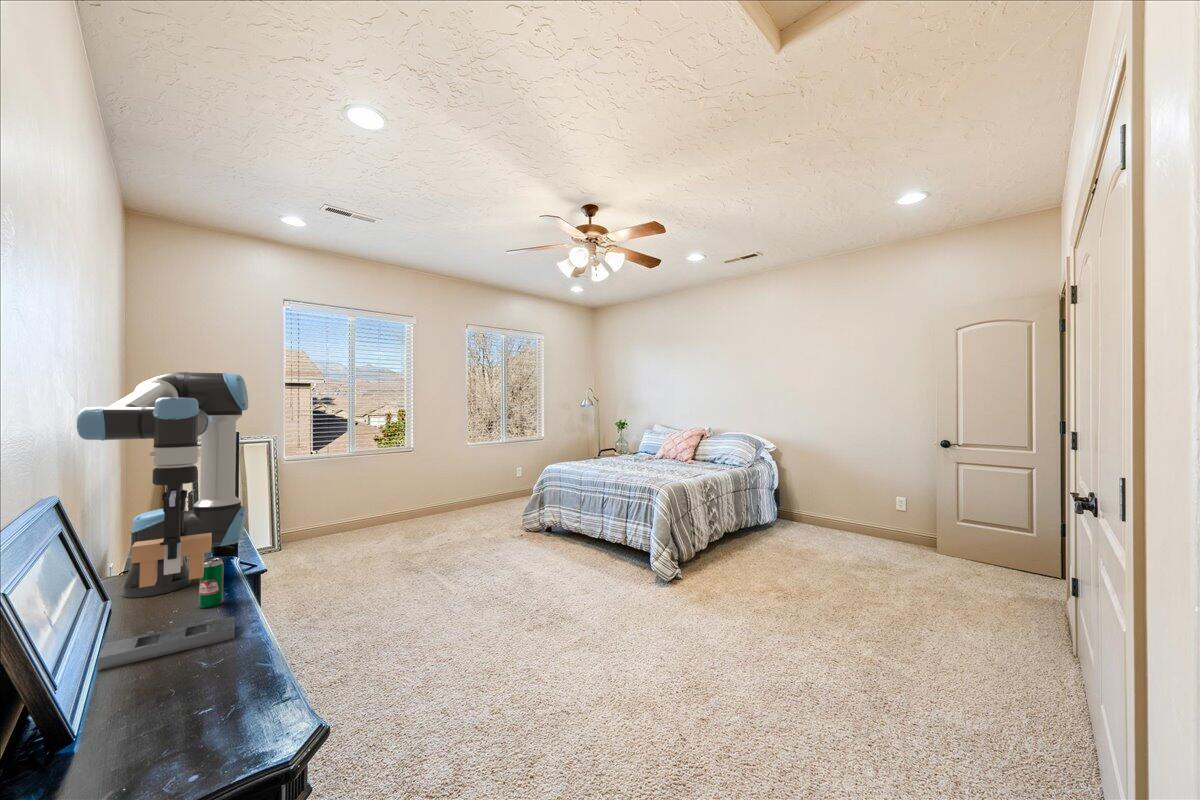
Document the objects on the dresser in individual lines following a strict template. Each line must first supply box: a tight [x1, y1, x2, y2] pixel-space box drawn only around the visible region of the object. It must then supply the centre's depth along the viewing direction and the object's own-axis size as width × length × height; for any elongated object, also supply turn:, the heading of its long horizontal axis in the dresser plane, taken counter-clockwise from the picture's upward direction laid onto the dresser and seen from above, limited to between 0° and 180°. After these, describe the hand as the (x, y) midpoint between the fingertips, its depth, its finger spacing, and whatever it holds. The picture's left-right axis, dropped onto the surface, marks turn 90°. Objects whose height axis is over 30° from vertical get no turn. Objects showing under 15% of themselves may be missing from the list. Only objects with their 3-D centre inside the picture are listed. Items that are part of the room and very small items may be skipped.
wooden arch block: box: [130, 533, 212, 588], centre depth 106 cm, size 5×13×9 cm, turn 128°
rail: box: [96, 615, 236, 672], centre depth 106 cm, size 8×22×2 cm, turn 128°
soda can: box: [198, 557, 224, 609], centre depth 128 cm, size 5×5×12 cm
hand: (173, 569), depth 106 cm, fingers closed on wooden arch block, 5 cm apart
